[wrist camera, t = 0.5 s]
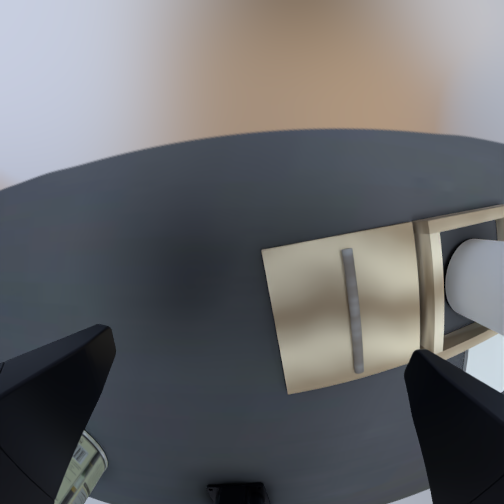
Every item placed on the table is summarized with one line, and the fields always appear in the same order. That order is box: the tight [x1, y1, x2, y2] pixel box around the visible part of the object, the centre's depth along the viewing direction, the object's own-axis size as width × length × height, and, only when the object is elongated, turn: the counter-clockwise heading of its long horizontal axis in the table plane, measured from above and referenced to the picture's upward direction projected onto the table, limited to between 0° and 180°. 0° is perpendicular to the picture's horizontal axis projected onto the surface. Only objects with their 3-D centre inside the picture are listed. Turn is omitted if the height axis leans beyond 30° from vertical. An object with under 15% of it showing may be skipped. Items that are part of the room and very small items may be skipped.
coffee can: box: [54, 430, 108, 504], centre depth 17 cm, size 10×10×14 cm
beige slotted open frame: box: [261, 204, 504, 394], centre depth 20 cm, size 12×24×2 cm, turn 101°
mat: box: [463, 334, 504, 393], centre depth 21 cm, size 10×10×1 cm
